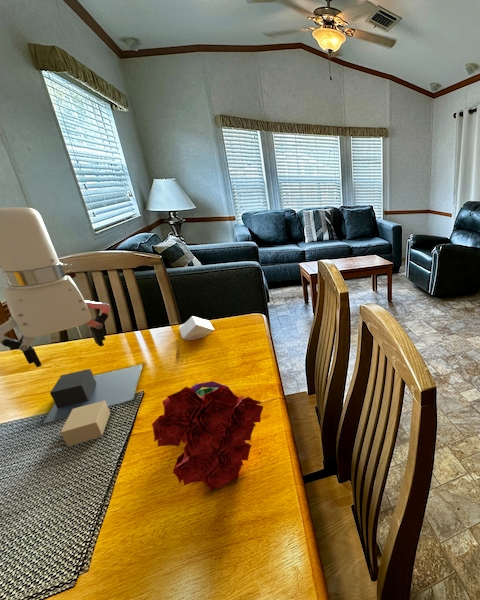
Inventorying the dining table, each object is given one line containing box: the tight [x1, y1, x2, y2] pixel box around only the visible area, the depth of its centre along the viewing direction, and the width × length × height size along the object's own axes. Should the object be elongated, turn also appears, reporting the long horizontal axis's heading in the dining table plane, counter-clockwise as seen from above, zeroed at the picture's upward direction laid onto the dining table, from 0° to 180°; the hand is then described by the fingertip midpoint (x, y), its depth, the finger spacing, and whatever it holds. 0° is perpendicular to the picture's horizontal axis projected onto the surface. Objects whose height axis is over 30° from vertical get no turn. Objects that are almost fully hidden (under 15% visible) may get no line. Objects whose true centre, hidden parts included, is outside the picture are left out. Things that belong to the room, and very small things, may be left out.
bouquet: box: [151, 380, 264, 491], centre depth 67 cm, size 20×16×30 cm
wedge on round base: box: [178, 315, 215, 341], centre depth 110 cm, size 9×7×13 cm
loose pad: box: [60, 401, 111, 447], centre depth 70 cm, size 6×8×4 cm
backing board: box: [41, 363, 144, 425], centre depth 82 cm, size 16×18×1 cm
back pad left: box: [49, 368, 96, 408], centre depth 80 cm, size 6×8×4 cm
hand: (70, 354), depth 68 cm, fingers open, 9 cm apart
